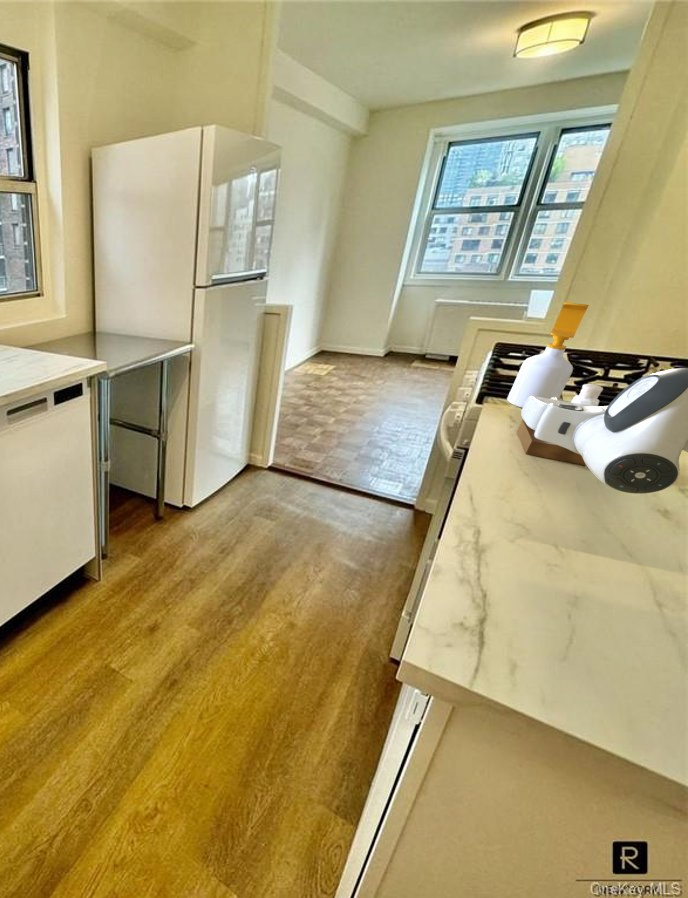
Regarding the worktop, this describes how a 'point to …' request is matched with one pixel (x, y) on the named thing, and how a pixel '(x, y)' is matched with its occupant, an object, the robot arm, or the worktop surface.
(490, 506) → the worktop surface
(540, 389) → the soap bottle
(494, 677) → the worktop surface
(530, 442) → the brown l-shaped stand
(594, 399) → the pepper shaker
